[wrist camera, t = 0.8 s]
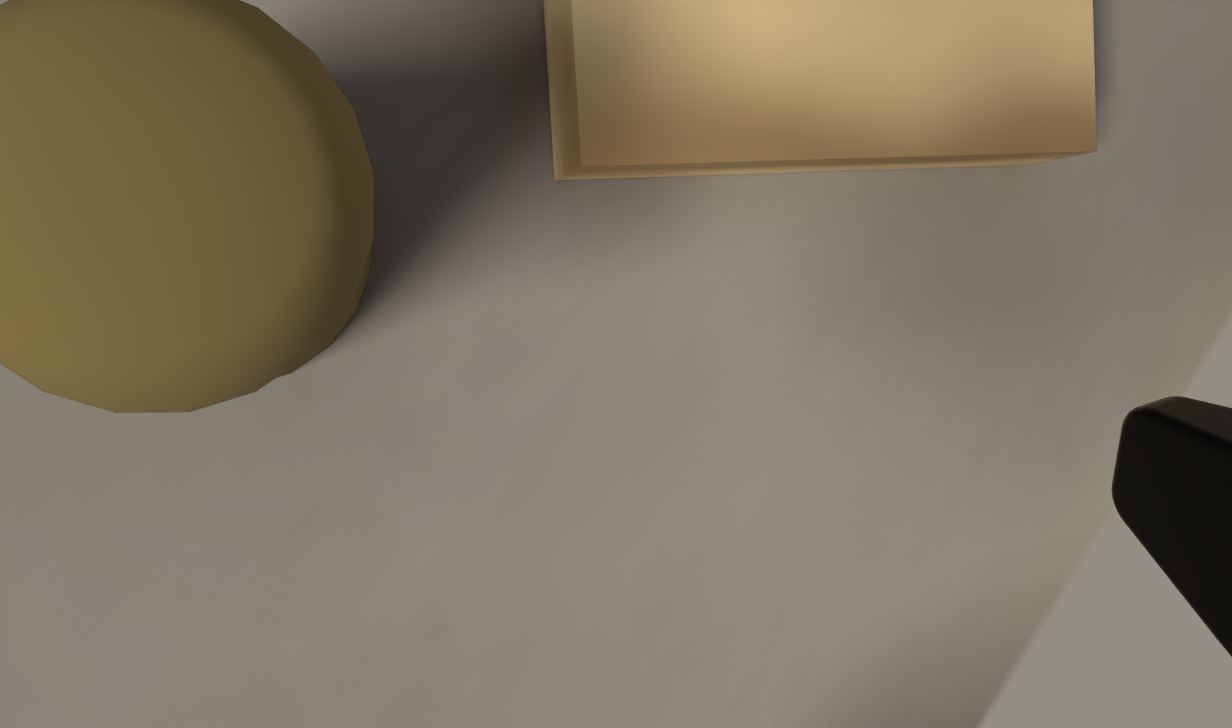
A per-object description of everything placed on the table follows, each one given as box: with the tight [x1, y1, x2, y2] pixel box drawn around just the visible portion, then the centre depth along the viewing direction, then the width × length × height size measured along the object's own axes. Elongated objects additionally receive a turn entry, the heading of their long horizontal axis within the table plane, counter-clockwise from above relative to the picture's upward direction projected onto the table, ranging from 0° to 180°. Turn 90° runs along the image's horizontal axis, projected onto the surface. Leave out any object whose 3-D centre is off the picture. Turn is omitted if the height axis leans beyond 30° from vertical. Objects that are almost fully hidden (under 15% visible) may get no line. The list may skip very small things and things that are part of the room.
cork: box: [0, 0, 374, 413], centre depth 17 cm, size 6×6×11 cm
